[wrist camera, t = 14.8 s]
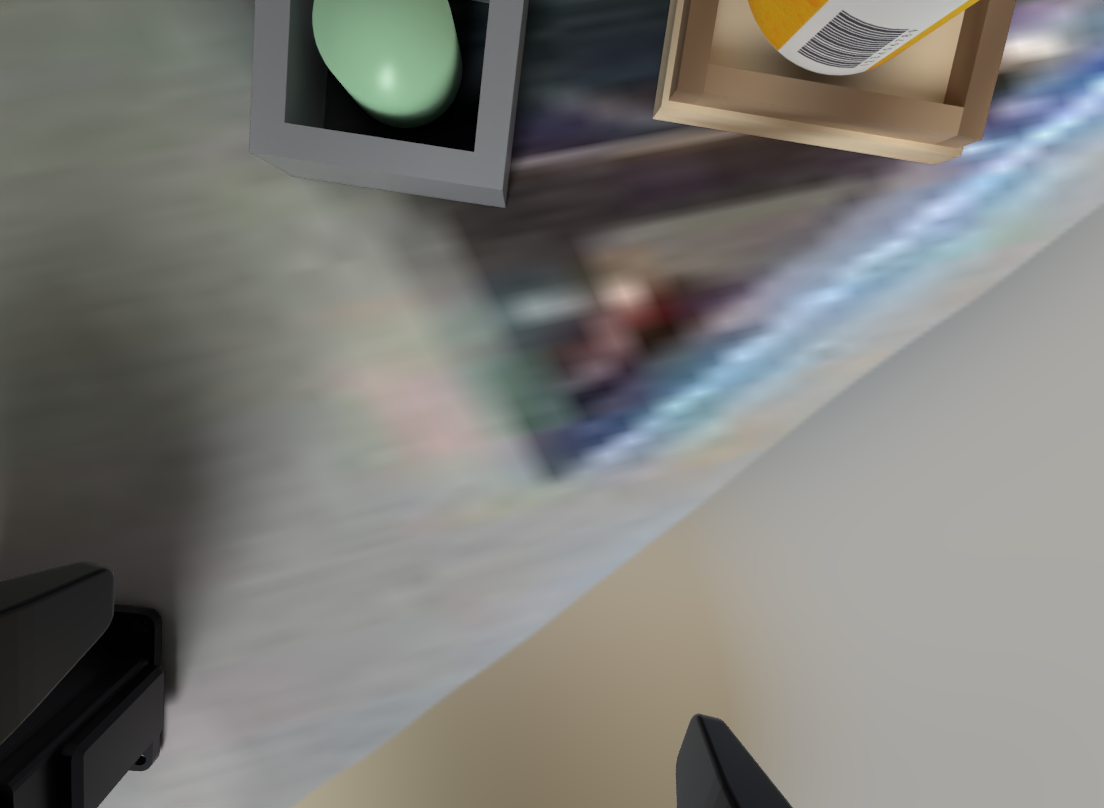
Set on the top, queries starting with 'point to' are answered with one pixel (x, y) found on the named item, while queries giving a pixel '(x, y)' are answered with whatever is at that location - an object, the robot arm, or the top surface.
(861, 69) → the beer can
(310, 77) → the button console
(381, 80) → the button
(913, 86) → the shallow wooden tray
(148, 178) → the top surface
